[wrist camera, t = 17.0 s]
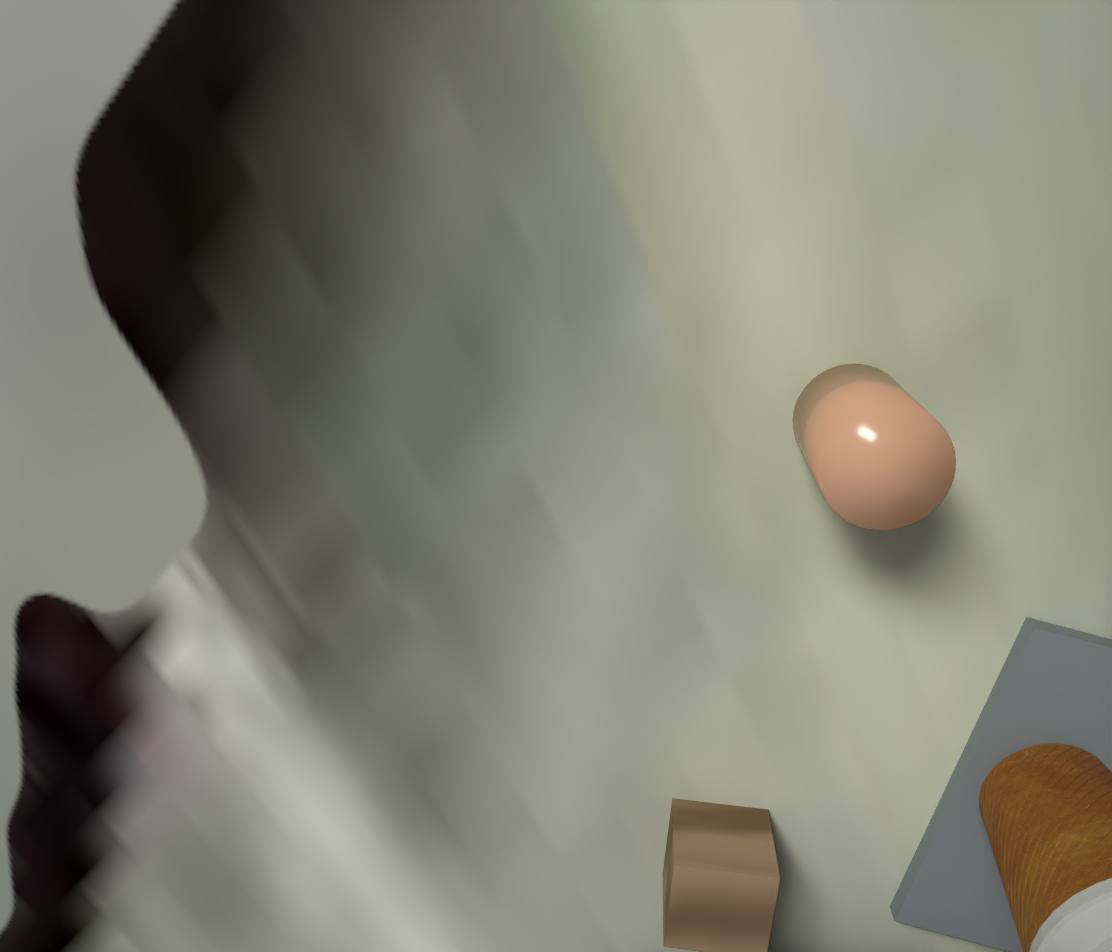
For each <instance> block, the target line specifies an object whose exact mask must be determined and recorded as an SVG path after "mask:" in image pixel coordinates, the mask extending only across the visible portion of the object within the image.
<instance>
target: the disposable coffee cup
mask: <svg viewBox="0 0 1112 952" xmlns="http://www.w3.org/2000/svg"><path fill="white" fill-rule="evenodd" d="M979 809H980V813H981V817H982V819H983V822H984V825H985V828H986V832H987V835H988V838H989V841H990V845H991V848H992V851H993V854H994V858H995V861H996V864H997V867H998V871H999V874H1000V878H1001V880H1002V884H1003V887H1004V890H1005V894H1006V897H1007V900H1008V903H1009V907H1010V910H1011V914H1012V917H1013V920H1014V923H1015V926H1016V930H1017V933H1018V935H1019V939H1020V942H1021V946H1022V949H1023V952H1112V772H1111V770H1110V769H1109V768H1107V767H1106V766H1105V765H1104V764H1103V763H1102V761H1101V760H1100V759H1099V758H1097V757H1096V756H1095V755H1093V754H1092V753H1090V752H1088V751H1086V750H1084V749H1082V748H1079V747H1076V746H1073V745H1066V744H1056V743H1050V744H1040V745H1035V746H1030V747H1027V748H1024V749H1022V750H1019V751H1017V752H1014V753H1013V754H1011V755H1009V756H1007V757H1006V758H1004V759H1003V760H1002V761H1001V762H999V763H998V764H997V765H996V766H995V767H994V768H993V769H992V770H991V772H990V773H989V774H988V775H987V777H986V779H985V781H984V783H983V785H982V787H981V791H980V795H979Z"/></svg>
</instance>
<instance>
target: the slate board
mask: <svg viewBox="0 0 1112 952" xmlns="http://www.w3.org/2000/svg"><path fill="white" fill-rule="evenodd" d="M1050 743H1056V744H1066V745H1073V746H1076V747H1079V748H1082V749H1084V750H1086V751H1088V752H1090V753H1092V754H1093V755H1095V756H1096V757H1097V758H1099V759H1100V760H1101V761H1102V763H1103V764H1104V765H1105V766H1106V767H1107V768H1109V769H1110V770H1111V772H1112V640H1110V639H1107V638H1103V637H1099V636H1095V635H1092V634H1088V633H1084V632H1080V631H1076V630H1073V629H1069V628H1065V627H1061V626H1057V625H1054V624H1050V623H1046V622H1042V621H1038V620H1035V619H1031V618H1027V617H1026V620H1025V622H1024V624H1023V626H1022V628H1021V630H1020V632H1019V634H1018V637H1017V639H1016V641H1015V643H1014V645H1013V647H1012V649H1011V651H1010V654H1009V656H1008V658H1007V660H1006V662H1005V664H1004V666H1003V668H1002V670H1001V673H1000V675H999V677H998V679H997V681H996V683H995V685H994V687H993V690H992V692H991V694H990V696H989V698H988V700H987V702H986V704H985V707H984V709H983V711H982V713H981V715H980V717H979V719H978V721H977V723H976V726H975V728H974V730H973V732H972V734H971V736H970V738H969V740H968V743H967V745H966V747H965V749H964V751H963V753H962V755H961V757H960V760H959V762H958V764H957V766H956V768H955V770H954V772H953V774H952V776H951V779H950V781H949V783H948V785H947V787H946V789H945V791H944V793H943V796H942V798H941V800H940V802H939V804H938V806H937V808H936V810H935V813H934V815H933V817H932V819H931V821H930V823H929V825H928V827H927V830H926V832H925V834H924V836H923V838H922V840H921V842H920V844H919V846H918V849H917V851H916V853H915V855H914V857H913V859H912V861H911V863H910V866H909V868H908V870H907V872H906V874H905V876H904V878H903V880H902V883H901V885H900V887H899V889H898V891H897V893H896V895H895V897H894V899H893V902H892V904H891V906H890V908H891V911H892V914H893V917H894V921H896V922H900V923H904V924H907V925H911V926H915V927H919V928H922V929H926V930H930V931H934V932H937V933H941V934H945V935H948V936H952V937H956V938H960V939H963V940H967V941H971V942H975V943H978V944H982V945H986V946H989V947H993V948H997V949H1001V950H1004V951H1008V952H1023V949H1022V946H1021V942H1020V939H1019V935H1018V933H1017V930H1016V926H1015V923H1014V920H1013V917H1012V914H1011V910H1010V907H1009V903H1008V900H1007V897H1006V894H1005V890H1004V887H1003V884H1002V880H1001V878H1000V874H999V871H998V867H997V864H996V861H995V858H994V854H993V851H992V848H991V845H990V841H989V838H988V835H987V832H986V828H985V825H984V822H983V819H982V817H981V813H980V809H979V795H980V791H981V787H982V785H983V783H984V781H985V779H986V777H987V775H988V774H989V773H990V772H991V770H992V769H993V768H994V767H995V766H996V765H997V764H998V763H999V762H1001V761H1002V760H1003V759H1004V758H1006V757H1007V756H1009V755H1011V754H1013V753H1014V752H1017V751H1019V750H1022V749H1024V748H1027V747H1030V746H1035V745H1040V744H1050Z"/></svg>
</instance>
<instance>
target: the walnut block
mask: <svg viewBox="0 0 1112 952" xmlns="http://www.w3.org/2000/svg"><path fill="white" fill-rule="evenodd" d="M779 882H780V874H779V868H778V863H777V857H776V851H775V845H774V840H773V834H772V828H771V822H770V817H769V811H768V810H766V809H758V808H749V807H741V806H732V805H723V804H715V803H706V802H698V801H689V800H681V799H672V806H671V814H670V822H669V829H668V837H667V845H666V853H665V861H664V869H663V934H664V947H670V948H678V949H686V950H694V951H702V952H767V949H768V944H769V938H770V933H771V927H772V922H773V916H774V910H775V905H776V899H777V894H778V888H779Z"/></svg>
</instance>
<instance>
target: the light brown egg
mask: <svg viewBox="0 0 1112 952" xmlns="http://www.w3.org/2000/svg"><path fill="white" fill-rule="evenodd" d="M793 430H794V435H795V438H796V441H797V443H798V445H799V447H800V449H801V451H802V453H803V455H804V457H805V459H806V461H807V463H808V465H809V467H810V469H811V471H812V473H813V475H814V477H815V479H816V481H817V483H818V485H819V488H820V490H821V492H822V494H823V496H824V498H825V500H826V501H827V503H828V504H829V506H830V507H831V508H832V509H833V510H834V511H835V512H836V513H837V514H838V515H839V516H840V517H841V518H843V519H845V520H846V521H848V522H850V523H852V524H854V525H856V526H859V527H862V528H866V529H871V530H892V529H898V528H901V527H905V526H908V525H910V524H913V523H915V522H917V521H919V520H921V519H922V518H924V517H925V516H927V515H928V514H930V513H931V512H932V511H933V510H934V509H935V508H936V507H937V506H938V505H939V504H940V503H941V502H942V500H943V499H944V497H945V496H946V494H947V493H948V491H949V489H950V487H951V484H952V481H953V478H954V474H955V466H956V458H955V451H954V447H953V444H952V441H951V439H950V437H949V435H948V433H947V432H946V430H945V429H944V428H943V426H942V425H941V424H940V423H939V422H938V421H937V420H936V419H935V418H934V417H933V416H932V415H931V414H930V413H929V412H927V411H926V410H925V409H924V408H923V407H922V406H921V405H920V404H919V403H918V402H917V401H916V400H915V399H914V398H913V397H912V396H911V395H910V394H908V393H907V392H906V391H905V390H904V389H903V388H902V387H901V386H900V385H899V384H898V383H897V382H896V381H895V380H894V379H893V378H891V377H890V376H889V375H888V374H886V373H885V372H883V371H881V370H879V369H877V368H875V367H872V366H868V365H863V364H846V365H840V366H837V367H834V368H831V369H829V370H826V371H824V372H823V373H821V374H819V375H818V376H817V377H815V378H814V379H813V380H812V381H811V382H810V383H809V384H808V385H807V386H806V387H805V388H804V390H803V391H802V393H801V394H800V396H799V398H798V400H797V402H796V405H795V409H794V413H793Z"/></svg>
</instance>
